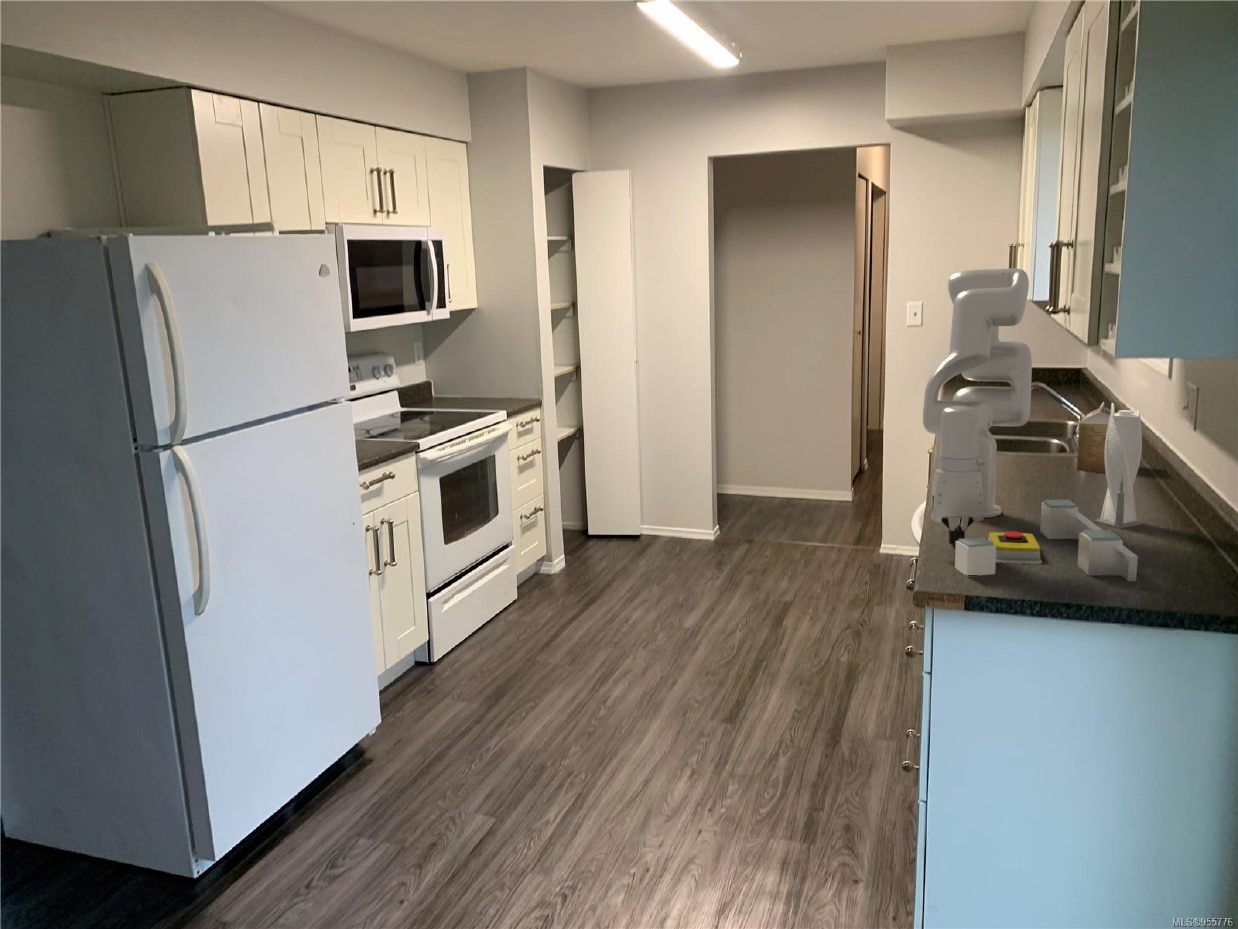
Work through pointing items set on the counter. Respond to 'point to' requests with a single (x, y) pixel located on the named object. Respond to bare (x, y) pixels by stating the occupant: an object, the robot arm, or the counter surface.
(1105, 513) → the skyscraper
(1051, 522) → the rail fixture
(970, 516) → the robot arm
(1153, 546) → the counter surface
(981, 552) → the block
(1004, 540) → the emergency button
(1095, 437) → the milk carton
